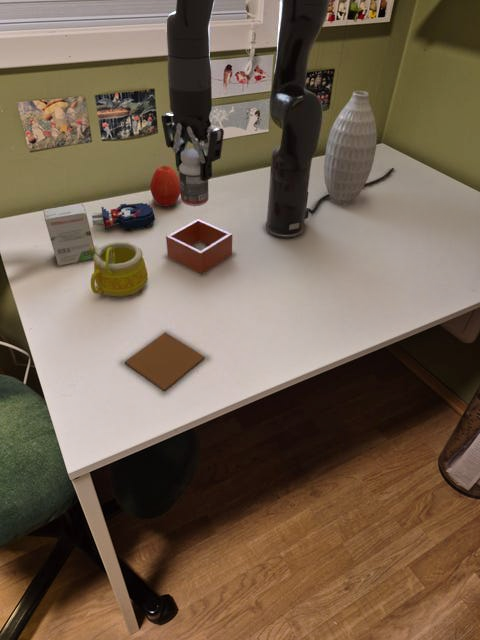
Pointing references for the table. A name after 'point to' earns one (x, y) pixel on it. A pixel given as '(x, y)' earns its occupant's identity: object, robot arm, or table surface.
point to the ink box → (69, 234)
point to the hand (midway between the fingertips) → (193, 174)
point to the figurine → (126, 216)
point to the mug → (118, 269)
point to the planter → (193, 257)
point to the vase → (350, 149)
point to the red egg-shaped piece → (165, 186)
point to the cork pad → (164, 361)
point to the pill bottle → (192, 179)
